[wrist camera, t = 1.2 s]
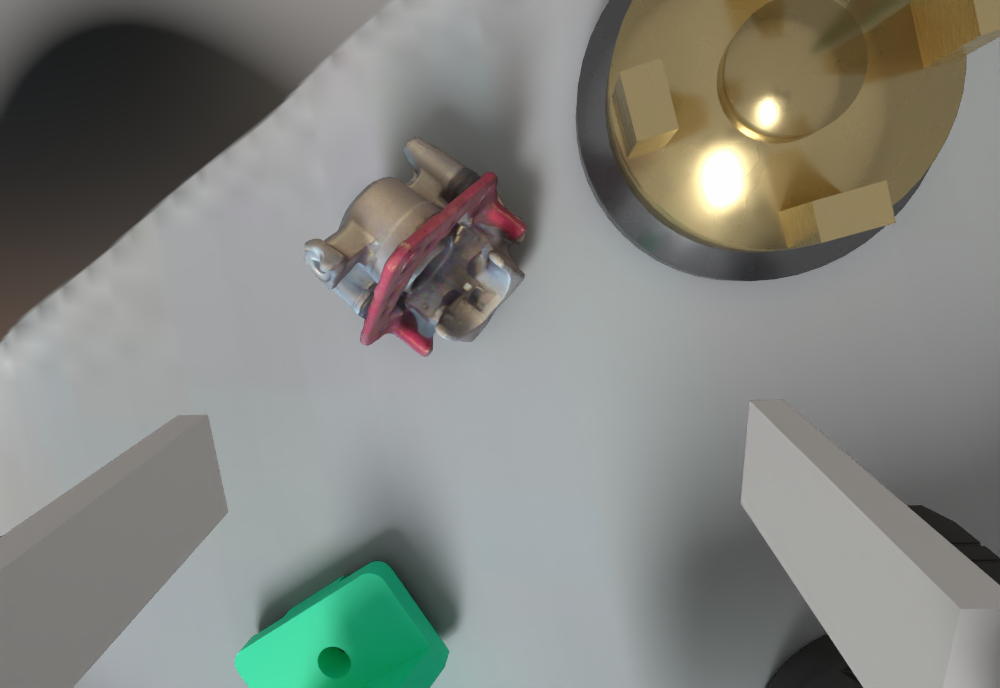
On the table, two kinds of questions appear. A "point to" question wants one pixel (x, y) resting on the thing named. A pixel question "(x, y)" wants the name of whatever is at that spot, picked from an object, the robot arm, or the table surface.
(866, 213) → the brass finned hub
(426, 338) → the brake caliper
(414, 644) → the camera mount
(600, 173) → the index base
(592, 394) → the table surface
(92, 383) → the table surface
